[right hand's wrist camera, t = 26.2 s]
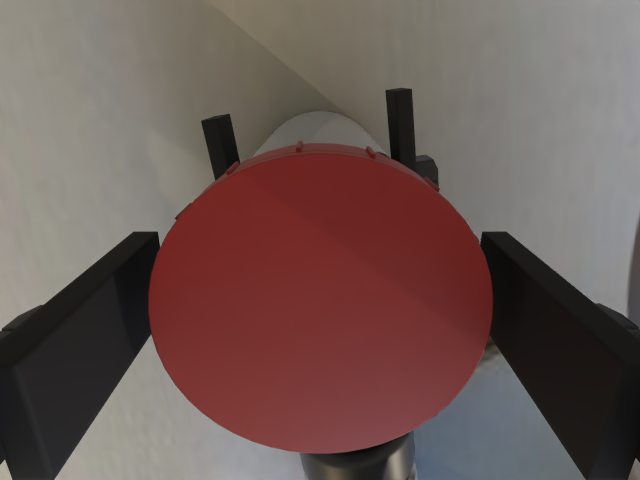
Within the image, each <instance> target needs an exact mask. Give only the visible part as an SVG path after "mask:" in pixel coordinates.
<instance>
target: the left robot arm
mask: <svg viewBox="0 0 640 480" xmlns="http://www.w3.org/2000/svg"><path fill="white" fill-rule="evenodd" d="M386 101H387V114H388V126H389V138H390V151H391V159H393V160H395V161H397V162H399V163H401V164H403V165H404V166H406V167H407V168H409V169H411V170H412V171H414V172H415V173H417V174H418V175H419V176H420V177H422V178H424V177H425V176H426V177H427V178H428V179H429V180H431V181H432V182H433V183H434V184H435V185H436V186H437V187H438V188H439V184H438V168H437V166H436V164H435V162H434V160H433V159H432V158H430V157H429V156H427V155H421V156H416V153H415V136H414V119H413V102H412V89H406V88H397V89H391V90H386ZM201 122H202V126H203V131H204V135H205V139H206V143H207V147H208V152H209V156H210V160H211V164H212V168H213V173H214V177H215V181H216V180H217V179H218V178H220V177H221V176H222V175H224V174H225V172H226V171H227V170H228V169H229V168H230V167H231V166H232V165H233V164H234V163H235V162H237V161H238V162H239V164H240V160H239V155H238V151H237V146H236V141H235V137H234V132H233V127H232V123H231V118H230V114H226V115H219V116H214V117H211V118H208V119H205V120H203V121H201ZM204 191H205V190H204ZM204 191H203V192H204ZM438 192H439V191H438ZM300 456H301V460H302V465H303V469H304V472H305V479H306V480H417V470H416V461H415V446H414V434H413V430H412V431H410V432H408V433H406V434H405V435H403V436H400V437H398V438H395V439H393V440H390V441H388V442H386V443H382V444H379V445H375V446H372V447H369V448H365V449H359V450H354V451H349V452H338V453H302V452H300Z"/></svg>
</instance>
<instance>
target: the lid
mask: <svg viewBox="0 0 640 480" xmlns="http://www.w3.org/2000/svg"><path fill="white" fill-rule="evenodd" d="M439 190H440V189H439V188H438V187H437V186H436V185H435V184H434V183H433V182H432V181H431V180H429V179H428V178H427V177H426V176H425V177H424V178H422V177H420V176H419V175H418V174H417V173H415V172H414V171H412V170H411V169H409V168H407V167H406V166H404V165H403V164H401V163H399V162H397V161H395V160H393V159H391V158H389V157H386V156H384V155H382V154H380V153H377V152H374V151H373V150H372V148H371V147H369V146H367V147H366V149H363V148H360V147H355V146H349V145H342V144H335V143H308V144H303V142H302V141H298V143H297V145H291V146H286V147H282V148H279V149H275V150H271V151H267V152H265V153H262V154H260V155H257V156H255V157H253V158H250V159H248V160H246V161H244V162H242V163H241V164H239V162H238V161H237V162H235V163H234V164H233V165H232V166H231V167H230V168H229V169H228V170H227V171H226V172H225V174H224V175H222V176H221V177H220V178H218V179H217V180H216V181H215V182H213V183H212V184H211V185H210V186H209V187H208V188H207V189H206V190H205V191H204V192H203V193H202V194H201V195H200V196H199V197H198V198H196V199H195V201H194V202H193V203H192V204H191V203H190V204H189V205H188V206H187V207H186V208H185V209H184V210H182V211H181V212H180V213H179V214H178V215H177V216H176V218H175V219H176V220H177V221H176V222H175V224H174V225H173V226H172V228H171V229H170V231H169V232H168V233H167V235H166V237H165V239H164V241H163V243H162V245H161V247H160V249H159V251H158V253H157V257H156V260H155V263H154V266H153V269H152V272H151V278H150V285H149V291H148V316H149V322H150V329H151V334H152V337H153V341H154V344H155V347H156V350H157V353H158V355H159V357H160V359H161V361H162V363H163V366H164V368H165V370H166V371H167V373H168V374H169V376H170V377H171V379H172V380H173V382H174V383H175V385H176V386H177V387H178V389H179V390H180V391H181V392H182V393H183V394H184V396H185V397H186V398H187V399H188V400H189V401H190V402H191V403H192V404H193V405H194V406H195V407H196V408H197V409H199V410H200V411H201V412H202V413H203V414H205V415H206V416H207V417H209V418H210V419H211V420H213V421H214V422H216V423H217V424H218V425H220V426H222V427H224V428H225V429H227V430H229V431H231V432H232V433H234V434H237V435H239V436H241V437H243V438H246V439H248V440H250V441H253V442H256V443H259V444H262V445H265V446H269V447H272V448H277V449H282V450H287V451H293V452H302V453H338V452H349V451H354V450H359V449H365V448H369V447H372V446H375V445H379V444H382V443H386V442H388V441H390V440H393V439H395V438H398V437H400V436H403V435H405V434H406V433H408V432H410V431H412V430H414V429H416V428H418V427H419V426H421V425H423V424H424V423H425V422H427V421H428V420H430V419H431V418H433V417H434V416H436V415H437V414H438V413H439V412H440V411H441V410H442V409H444V408H445V407H446V406H447V405H448V404H449V403H450V402H451V401H452V400H453V399H454V398H455V397H456V396H457V395H458V394H459V392H460V391H461V390H462V389H463V388H464V386H465V385H466V383H467V382H468V381H469V379H470V378H471V376H472V375H473V373H474V372H475V370H476V368H477V366H478V364H479V362H480V360H481V358H482V356H483V353H484V350H485V347H486V345H487V342H488V339H489V335H490V329H491V324H492V319H493V290H492V281H491V276H490V272H489V268H488V265H487V261H486V258H485V255H484V253H483V251H482V249H481V247H480V244H479V240H478V238H477V237H476V236H475V235H474V233H473V232H472V230H471V229H470V227H469V226H468V224H467V223H466V221H465V220H464V219H463V217H462V216H461V215H460V214H459V213H458V212H457V211H456V209H455V208H454V207H453V206H452V205H451V204H450V203H449V202H448V201H447V200H446V199H445V198H444V197H443V196H442V195H441V194H440V193H439V192H438V191H439Z"/></svg>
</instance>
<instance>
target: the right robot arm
mask: <svg viewBox="0 0 640 480" xmlns="http://www.w3.org/2000/svg"><path fill="white" fill-rule="evenodd" d="M480 247H481V249H482V251H483V253H484V255H485V258H486V261H487V265H488V268H489V272H490V276H491V281H492V290H493V319H492V324H491V329H490V336H491V338H492V339H493V341H494V342H495V344H496V345H497V347H498V348H499V350H500V351H501V353H502V354H503V356H504V357H505V359H506V360H507V362H508V363H509V365H510V366H511V368H512V369H513V371H514V372H515V374H516V375H517V377H518V378H519V380H520V381H521V383H522V384H523V386H524V387H525V389H526V390H527V392H528V393H529V395H530V396H531V398H532V399H533V401H534V402H535V404H536V406H537V407H538V409H539V410H540V412H541V413H542V415H543V416H544V418H545V419H546V421H547V422H548V424H549V425H550V427H551V428H552V430H553V431H554V433H555V434H556V436H557V437H558V439H559V440H560V442H561V443H562V445H563V446H564V448H565V449H566V451H567V452H568V454H569V455H570V457H571V458H572V460H573V461H574V463H575V464H576V466H577V467H578V469H579V470H580V472H581V473H582V475H583V476H584V478H585V479H586V480H627V479H628V477H629V474H630V471H631V468H632V466H633V463H634V460H635V458H637V460H638V461H639V462H640V330H639V328H638V326H636V325H635V324H634V323H632V322H631V321H630V320H629V319H627V318H626V317H625V316H623V315H622V314H620V313H618V312H616V311H614V310H612V309H610V308H608V307H606V306H604V305H602V304H594V303H593V302H592V301H591V300H590V299H588V298H587V297H586V296H585V295H583V294H582V293H581V292H580V291H579V290H577V289H576V288H575V287H574V286H572V285H571V284H570V283H569V282H567V281H566V280H565V279H564V278H563V277H561V276H560V275H559V274H558V273H556V272H555V271H554V270H553V269H551V268H550V267H549V266H548V265H547V264H545V263H544V262H543V261H542V260H540V259H539V258H538V257H537V256H535V255H534V254H533V253H532V252H531V251H529V250H528V249H527V248H526V247H524V246H523V245H522V244H521V243H520V242H518V241H517V240H516V239H515V238H513V237H512V236H511V235H510V234H508V233H507V232H482V237H481V244H480ZM159 249H160V244H159V237H158V232H133V233H132V234H130V235H129V236H128V237H127V238H125V239H124V240H123V241H122V242H120V243H119V244H118V245H117V246H116V247H114V248H113V249H112V250H111V251H109V252H108V253H107V254H106V255H104V256H103V257H102V258H101V259H100V260H98V261H97V262H96V263H95V264H93V265H92V266H91V267H90V268H89V269H87V270H86V271H85V272H84V273H82V274H81V275H80V276H79V277H77V278H76V279H75V280H74V281H73V282H71V283H70V284H69V285H68V286H66V287H65V288H64V289H63V290H61V291H60V292H59V293H58V294H57V295H55V296H54V297H53V298H52V299H50V300H49V301H48V302H47V303H46V304H44V305H40V306H38V307H36V308H34V309H31V310H29V311H27V312H25V313H23V314H21V315H19V316H18V317H16V318H15V319H14V320H13V321H11V322H10V323H9V324H7V325H6V326H5V327H4V328H2V331H0V464H1V463H2V462H3V461H4V460H6V463H7V466H8V468H9V471H10V474H11V477H12V479H13V480H54V479H55V478H56V476H57V475H58V473H59V472H60V470H61V469H62V467H63V466H64V464H65V463H66V461H67V460H68V458H69V457H70V455H71V454H72V452H73V451H74V449H75V448H76V446H77V445H78V443H79V442H80V440H81V439H82V437H83V436H84V434H85V433H86V431H87V430H88V428H89V427H90V425H91V424H92V422H93V421H94V419H95V418H96V416H97V415H98V413H99V412H100V410H101V409H102V407H103V406H104V404H105V402H106V401H107V399H108V398H109V396H110V395H111V393H112V392H113V390H114V389H115V387H116V386H117V384H118V383H119V381H120V380H121V378H122V377H123V375H124V374H125V372H126V371H127V369H128V368H129V366H130V365H131V363H132V362H133V360H134V359H135V357H136V356H137V354H138V353H139V351H140V350H141V348H142V347H143V345H144V344H145V342H146V341H147V339H148V338H149V336H150V335H151V329H150V322H149V316H148V291H149V285H150V278H151V272H152V269H153V266H154V263H155V260H156V257H157V253H158V251H159Z"/></svg>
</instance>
